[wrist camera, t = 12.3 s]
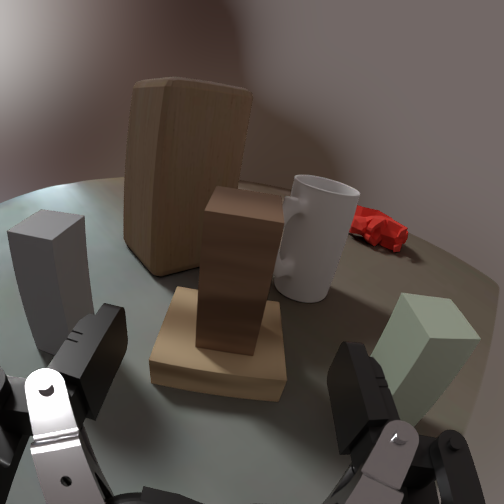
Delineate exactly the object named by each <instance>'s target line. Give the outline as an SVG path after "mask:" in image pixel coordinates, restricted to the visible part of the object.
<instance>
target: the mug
mask: <svg viewBox="0 0 504 504" xmlns="http://www.w3.org/2000/svg"><path fill="white" fill-rule="evenodd" d="M359 196H360V192H358V191H357V190H356V189H354V188H352V187H350V186H348V185H346V184H343V183H340V182H337V181H333V180H330V179H327V178H322V177H317V176H310V175H297V176H295V177H294V183H293V187H292V192H291V197H289V196H285V198H284V202H283V205H282V206H283V214H284V227H285V228H283V229H284V233H283V238H282V243H281V247H280V252H279V250H278V254H277V259H276V263H275V268H274V272H273V276H275V278H274V285H275V287H276V288H277V290H278V291H279V292H280V293H281V294H283V295H284V296H286V297H288V298H290V299H293V300H295V301H299V302H305V303H314V302H318V301H321V300H323V299H324V298H325V297H326V295H327V293H328V290H329V288H330V285H331V282H332V280H333V277H334V275H335V272H336V269H337V266H338V263H339V260H340V257H341V254H342V251H343V248H344V246H345V243H346V240H347V237H348V233H349V230H350V227H351V224H352V221H353V218H354V215H355V211H356V207H357V204H358V200H359Z"/></svg>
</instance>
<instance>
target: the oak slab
mask: <svg viewBox="0 0 504 504" xmlns="http://www.w3.org/2000/svg"><path fill="white" fill-rule="evenodd" d="M197 301H198V290H196V289H190V288H184V287H178V286H177V288H176V291H175V293H174V296H173V298H172V301H171V303H170V306H169V308H168V311H167V313H166V316H165V319H164V321H163V324H162V326H161V329H160V332H159V334H158V337H157V339H156V342H155V345H154V348H153V350H152V353H151V356H150V358H149V367H150V377H151V383H152V384H157V385H162V386H167V387H172V388H177V389H182V390H188V391H193V392H199V393H206V394H212V395H219V396H226V397H234V398H243V399H252V400H262V401H273V402H279V399H280V397H281V394H282V392H283V389H284V387H285V384H286V382H287V375H286V364H285V354H284V343H283V333H282V323H281V314H280V304H279V302H276V301H268V300H267V302H266V306H265V310H264V314H263V318H262V323H261V327H260V331H259V335H258V339H257V343H256V347H255V351H254V355H253V356H248V355H241V354H234V353H227V352H221V351H215V350H208V349H203V348H197V347H195V340H196V319H197Z"/></svg>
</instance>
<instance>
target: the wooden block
mask: <svg viewBox="0 0 504 504" xmlns="http://www.w3.org/2000/svg"><path fill="white" fill-rule="evenodd" d="M252 101H253V96H252V93H251V92H249V91H248V90H247V89H245V88H241V87H236V86H231V85H226V84H220V83H215V82H208V81H203V80H195V79H189V78H181V77H168V78H157V79H149V80H142V81H139V82H137V83H136V84H135V86H134V87H133V92H132V100H131V108H130V116H129V126H128V136H127V149H126V163H125V181H124V240H125V243H126V244H127V245H128V246H129V248H130V249H131V250H132V251H133V252H134V254H135V255H136V256H137V257H138V258H139V259H140V260H141V262H142V263H143V264H144V265H145V266H146V267H147V268H148V270H149V271H150V272H151V273H152V274H153V275H156V276H164V275H168V274H172V273H176V272H180V271H184V270H188V269H192V268H196V267H199V266H200V256H201V244H202V232H203V221H204V210H205V208H206V206H207V204H208V202H209V200H210V198H211V196H212V194H213V192H214V190H215V188H216V186H221V187H228V188H235V189H238V183H239V176H240V170H241V165H242V159H243V152H244V147H245V140H246V135H247V129H248V123H249V118H250V112H251V106H252Z"/></svg>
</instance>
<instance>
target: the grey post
mask: <svg viewBox="0 0 504 504" xmlns="http://www.w3.org/2000/svg"><path fill="white" fill-rule="evenodd" d="M7 234H8V240H9V246H10V252H11V257H12V262H13V267H14V271H15V276H16V280H17V284H18V288H19V292H20V296H21V299H22V303H23V306H24V310H25V313H26V317H27V320H28V323H29V326H30V329H31V332H32V335H33V338H34V341H35V344H36V346H37V349H39V350H42V351H45V352H47V353H50V354H53V355H56V353H57V352H58V350H59V349H60V347H61V346H62V344H63V343H64V341H65V340H67V337H68V336H69V334H70V333H71V332H72V330H73V328H74V327H75V325H76V324H77V323H78V321H79V320H81V319H82V318H84V317H85V316H87V315H88V314H94V308H93V301H92V294H91V286H90V278H89V269H88V260H87V248H86V234H85V216H84V215H77V214H70V213H63V212H56V211H49V210H43V209H41V210H39V211H38V212H36V213H34V214H33V215H31V216H29V217H28V218H26V219H25V220H23V221H21V222H20V223H18V224H17V225H15V226H14V227H12V228H11V229H9V230H8V231H7ZM94 315H95V314H94Z"/></svg>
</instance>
